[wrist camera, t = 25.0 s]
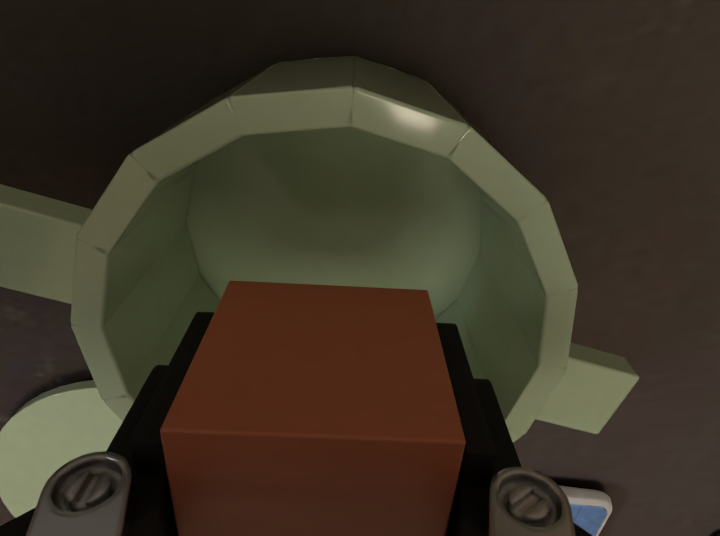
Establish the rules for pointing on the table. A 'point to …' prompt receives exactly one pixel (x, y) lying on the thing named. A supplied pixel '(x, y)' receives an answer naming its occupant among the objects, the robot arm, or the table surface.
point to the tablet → (588, 508)
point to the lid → (51, 440)
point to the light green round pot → (319, 234)
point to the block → (315, 416)
